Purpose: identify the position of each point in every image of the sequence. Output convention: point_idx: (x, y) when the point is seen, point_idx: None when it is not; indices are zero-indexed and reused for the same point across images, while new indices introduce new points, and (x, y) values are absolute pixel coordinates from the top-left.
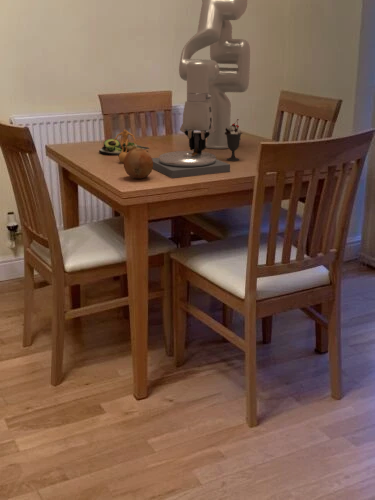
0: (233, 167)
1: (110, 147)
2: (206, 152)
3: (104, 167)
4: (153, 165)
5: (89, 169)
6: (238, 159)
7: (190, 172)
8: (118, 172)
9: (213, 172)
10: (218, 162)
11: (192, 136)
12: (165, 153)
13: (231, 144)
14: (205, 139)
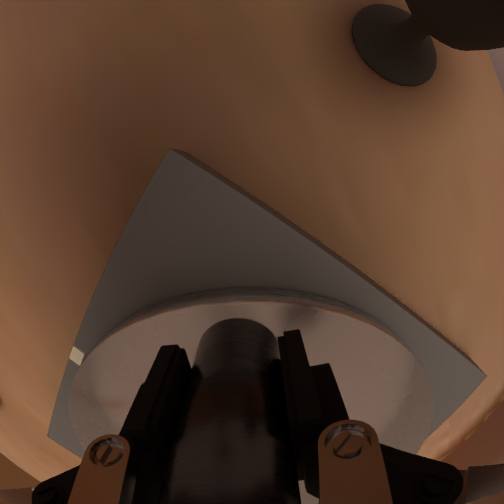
0: (474, 266)
1: None
2: (319, 312)
3: (17, 449)
4: None
5: (22, 467)
6: (432, 47)
7: None
8: None
9: None
10: (434, 379)
11: (158, 491)
12: (81, 439)
13: (481, 47)
14: (351, 430)
